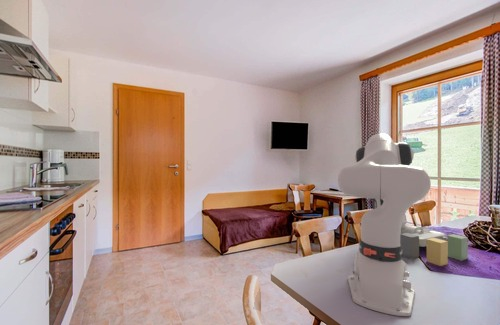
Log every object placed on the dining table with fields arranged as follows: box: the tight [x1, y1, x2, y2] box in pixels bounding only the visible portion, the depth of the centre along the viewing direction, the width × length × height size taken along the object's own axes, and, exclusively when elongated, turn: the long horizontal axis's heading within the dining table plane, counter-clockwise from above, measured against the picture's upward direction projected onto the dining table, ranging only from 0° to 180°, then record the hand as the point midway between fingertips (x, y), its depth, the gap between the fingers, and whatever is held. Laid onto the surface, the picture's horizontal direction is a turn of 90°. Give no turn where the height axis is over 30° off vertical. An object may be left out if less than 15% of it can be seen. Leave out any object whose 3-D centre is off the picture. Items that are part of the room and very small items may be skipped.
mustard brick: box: [426, 238, 449, 267], centre depth 96 cm, size 5×5×9 cm
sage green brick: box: [446, 233, 469, 262], centre depth 102 cm, size 5×5×9 cm
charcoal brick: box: [400, 233, 420, 260], centre depth 103 cm, size 5×5×9 cm
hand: (447, 243), depth 105 cm, fingers open, 8 cm apart
